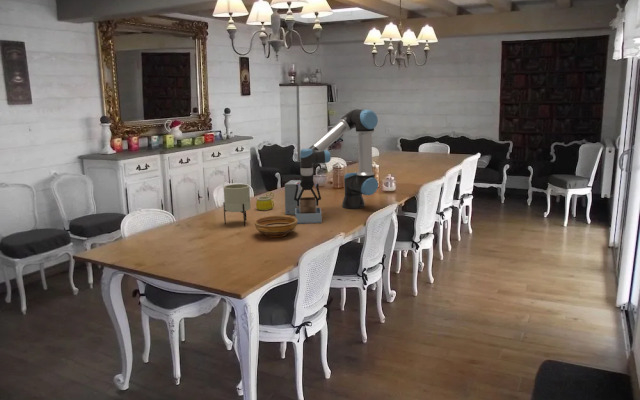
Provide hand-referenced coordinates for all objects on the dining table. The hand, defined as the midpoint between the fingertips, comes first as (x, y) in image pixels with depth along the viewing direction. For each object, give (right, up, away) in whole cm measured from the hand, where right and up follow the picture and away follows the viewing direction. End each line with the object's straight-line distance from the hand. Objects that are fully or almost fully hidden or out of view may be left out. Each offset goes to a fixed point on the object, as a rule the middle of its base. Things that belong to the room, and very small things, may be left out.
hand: (307, 211), depth 326 cm
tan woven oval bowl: (-17, -12, -28) cm, 35 cm away
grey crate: (0, -5, +1) cm, 6 cm away
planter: (-42, -8, -2) cm, 42 cm away
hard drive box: (-10, -1, +23) cm, 25 cm away
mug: (-29, 0, +34) cm, 44 cm away
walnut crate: (0, 0, 0) cm, 0 cm away
